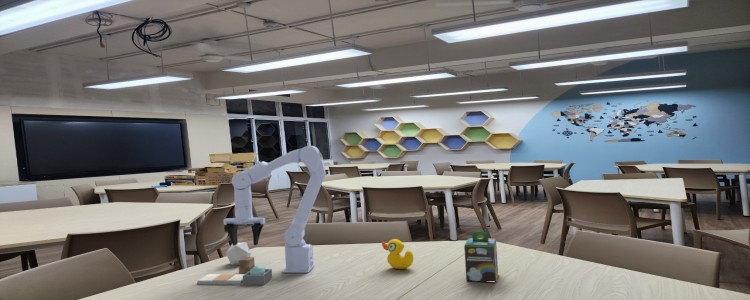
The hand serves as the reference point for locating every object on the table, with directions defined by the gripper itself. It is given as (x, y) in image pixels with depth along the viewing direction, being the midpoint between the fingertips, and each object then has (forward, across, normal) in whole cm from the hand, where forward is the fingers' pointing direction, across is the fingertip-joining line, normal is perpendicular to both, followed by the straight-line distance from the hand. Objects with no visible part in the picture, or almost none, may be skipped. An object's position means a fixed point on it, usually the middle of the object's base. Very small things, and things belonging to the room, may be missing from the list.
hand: (245, 244), depth 153 cm
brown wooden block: (+10, 0, 0) cm, 10 cm away
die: (+10, -8, +11) cm, 17 cm away
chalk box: (+10, +80, -6) cm, 81 cm away
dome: (+9, +8, -9) cm, 15 cm away
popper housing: (+10, +8, -10) cm, 16 cm away
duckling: (+10, +53, +4) cm, 54 cm away
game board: (+10, -4, -9) cm, 14 cm away
